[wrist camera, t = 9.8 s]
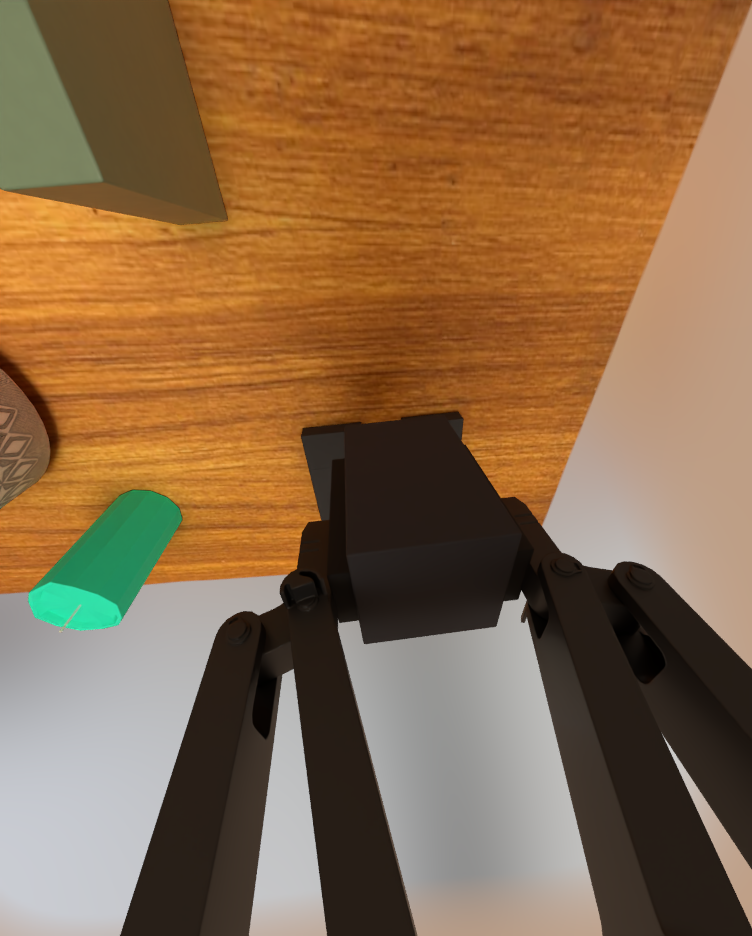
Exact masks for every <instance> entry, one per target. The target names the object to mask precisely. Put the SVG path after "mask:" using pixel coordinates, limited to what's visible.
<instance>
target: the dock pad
mask: <svg viewBox="0 0 752 936" xmlns="http://www.w3.org/2000/svg"><path fill="white" fill-rule="evenodd" d="M441 415H445V417H446V418H447V420H448V421H449V423H450V424H451V426H452V427H453V429H454V431H455V432H456V434H457V435H458V437H459V438H460V440H462V429H463V418H462V416H461V415H460V413H459V412H452V413H443V414H433V415H424V416H415V417H405V418H401V420H404V419H414V418H423V417H432V416H441ZM359 424H361V422H358V423H349V424H340V425H330V426H321V427H312V428H303V430H302V434H301V439H302V443H303V447H304V451H305V455H306V459H307V463H308V467H309V471H310V475H311V480H312V484H313V488H314V492H315V496H316V500H317V504H318V508H319V512H320V516H321V520H322V521H323V520H329V514H330V492H331V471H332V460H335V459H343V458H345V447H344V427H345V426H350V425H359Z"/></svg>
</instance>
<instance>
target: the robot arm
mask: <svg viewBox="0 0 752 936" xmlns="http://www.w3.org/2000/svg"><path fill="white" fill-rule="evenodd" d="M464 446H465V447H466V449H467V450H468V452H469V453H470V455H471V456H472V458H473V460H474V461H475V463H476V464H477V466H478V467H479V469H480V470H481V472H482V473H483V475H484V476H485V478H486V479H487V481H488V482H489V484H490V486H491V487H492V489H493V490H494V492H495V493H496V495H497V496H498V498H499V499H500V501H501V502H502V504H503V505H504V507H505V508H506V510H507V511H508V513H509V515H510V516H511V518H512V519H513V521H514V522H515V524H516V525H517V527H518V528H519V530H520V531H521V533H522V536H521V540H520V544H519V547H518V551H517V554H516V558H515V561H514V565H513V569H512V572H511V576H510V579H509V583H508V587H507V590H506V594H505V597H504V601H509V600H517V599H518V598H519V595H520V592H521V590H522V592H523V594H524V596H525V597H526V599H527V601H526V604H525V607H524V610H523V613H522V615H521V622H523V623H524V622H525V620H526V617H527V619H528V623H529V627H530V632H531V636H532V640H533V644H534V648H535V652H536V656H537V660H538V664H539V668H540V672H541V677H542V681H543V685H544V689H545V693H546V697H547V701H548V706H549V710H550V714H551V717H552V722H553V726H554V730H555V734H556V738H557V742H558V747H559V751H560V755H561V759H562V763H563V767H564V771H565V775H566V779H567V784H568V787H569V792H570V796H571V800H572V804H573V808H574V812H575V816H576V820H577V825H578V829H579V833H580V836H581V841H582V845H583V849H584V853H585V857H586V862H587V866H588V870H589V874H590V878H591V882H592V886H593V890H594V894H595V898H596V903H597V906H598V911H599V915H600V920H601V925H602V934H603V936H752V928H751V926H750V923H749V921H748V919H747V917H746V915H745V913H744V910H743V908H742V906H741V904H740V902H739V900H738V897H737V895H736V893H735V891H734V889H733V887H732V884H731V883H730V880H729V878H728V876H727V874H726V871H725V869H724V867H723V865H722V863H721V861H720V858H719V856H718V854H717V852H716V850H715V848H714V845H713V843H712V841H711V839H710V837H709V835H708V833H707V831H706V828H705V826H704V824H703V822H702V820H701V817H700V815H699V813H698V811H697V809H696V807H695V804H694V803H693V800H692V798H691V796H690V794H689V792H688V789H687V787H686V785H685V783H684V781H683V779H682V776H681V774H680V772H679V770H678V768H677V766H676V763H675V761H674V759H673V757H672V755H671V753H670V751H669V748H668V746H667V744H666V742H665V740H664V738H663V736H664V737H665V739H666V740H667V742H668V743H669V745H670V746H671V748H672V749H673V751H674V752H675V754H676V756H677V757H678V758H679V760H680V761H681V763H682V764H683V766H684V768H685V769H686V771H687V772H688V774H689V775H690V777H691V778H692V780H693V781H694V783H695V784H696V786H697V787H698V789H699V790H700V792H701V793H702V795H703V796H704V798H705V799H706V801H707V802H708V804H709V805H710V807H711V808H712V810H713V811H714V813H715V815H716V816H717V818H718V819H719V821H720V822H721V823H722V825H723V826H724V828H725V830H726V831H727V833H728V834H729V836H730V837H731V839H732V840H733V842H734V843H735V845H736V846H737V848H738V849H739V851H740V852H741V854H742V855H743V857H744V858H745V860H746V861H747V863H748V864H749V866H750V867H751V869H752V669H751V668H750V667H749V666H748V665H747V664H746V663H745V662H744V661H743V660H742V659H741V658H740V657H739V656H738V655H737V654H736V653H735V652H734V651H733V650H732V648H730V647H729V646H728V644H727V643H725V641H724V640H723V639H722V638H721V637H720V636H719V635H718V634H717V633H716V632H715V631H714V630H713V629H712V628H711V627H710V626H709V625H708V624H707V623H706V622H705V621H704V620H703V619H702V618H701V617H700V616H699V615H698V614H697V613H696V612H695V611H694V610H693V609H692V608H691V607H690V606H689V605H688V604H687V603H686V602H685V601H684V600H683V599H682V598H681V597H680V596H679V595H678V594H677V593H676V592H675V590H674V589H673V588H672V587H670V585H669V584H668V583H667V582H666V581H665V580H664V579H663V578H662V577H661V576H660V575H658V574H657V573H656V572H655V571H653V570H652V569H650V568H648V567H646V566H644V565H642V564H638V563H635V562H621V563H618V564H617V565H616V566H615V568H614V569H613V570H606V569H599V568H592V567H587V566H583V565H582V564H581V563H580V562H579V561H578V560H576V559H575V558H574V557H572V556H570V555H567V554H565V553H561V551H560V550H559V549H558V548H557V546H556V545H555V543H554V542H553V541H552V540H551V538H550V537H549V535H548V534H547V533H546V531H545V530H544V529H543V527H542V526H541V525H540V523H538V521H537V519H536V518H535V517H534V515H532V513H531V511H530V510H529V509H528V507H527V506H526V505H525V504H524V503H523V502H521V501H520V500H518V499H517V498H516V497H508V498H500V496H499V495H498V493H497V492H496V490H495V489H494V487H493V486H492V484H491V483H490V481H489V480H488V478H487V477H486V475H485V474H484V472H483V471H482V469H481V468H480V466H479V465H478V463H477V461H476V460H475V458H474V457H473V455H472V454H471V452H470V451H469V449H468V448H467V446H466V445H464ZM280 595H281V598H282V600H283V602H284V603H283V604H281V605H280V606H278V607H276V608H275V609H273V610H270V611H268V612H266V613H263V614H261V615H259V616H258V615H257V614H255V613H253V612H247V611H243V612H240V613H237V614H235V615H233V616H232V617H230V618H228V619H227V620H226V621H225V622H224V623H223V624H222V626H221V627H220V629H219V630H218V632H217V634H216V637H215V640H214V643H213V646H212V649H211V652H210V656H209V659H208V662H207V665H206V668H205V671H204V675H203V678H202V681H201V684H200V687H199V690H198V693H197V696H196V700H195V703H194V706H193V709H192V712H191V715H190V718H189V722H188V725H187V728H186V731H185V734H184V737H183V740H182V743H181V747H180V750H179V753H178V756H177V759H176V763H175V765H174V769H173V772H172V775H171V778H170V781H169V784H168V787H167V790H166V794H165V797H164V800H163V803H162V806H161V809H160V813H159V816H158V819H157V822H156V825H155V828H154V831H153V834H152V838H151V841H150V844H149V847H148V850H147V853H146V856H145V860H144V863H143V866H142V869H141V872H140V875H139V878H138V882H137V885H136V888H135V891H134V894H133V897H132V900H131V903H130V906H129V910H128V913H127V916H126V919H125V922H124V925H123V929H122V932H121V935H120V936H249V928H250V920H251V913H252V906H253V898H254V890H255V882H256V874H257V866H258V858H259V851H260V844H261V835H262V828H263V820H264V812H265V805H266V796H267V789H268V782H269V774H270V766H271V759H272V751H273V743H274V735H275V727H276V720H277V712H278V704H279V697H280V689H281V681H282V674H284V673H286V672H288V671H290V670H292V669H294V674H295V682H296V690H297V698H298V706H299V714H300V722H301V730H302V738H303V746H304V754H305V762H306V770H307V777H308V786H309V794H310V802H311V809H312V818H313V826H314V834H315V842H316V849H317V858H318V866H319V874H320V882H321V890H322V898H323V906H324V914H325V922H326V929H327V936H417V932H416V928H415V925H414V921H413V917H412V913H411V909H410V906H409V902H408V898H407V894H406V890H405V886H404V882H403V878H402V875H401V871H400V867H399V863H398V859H397V856H396V851H395V848H394V844H393V840H392V837H391V832H390V829H389V825H388V821H387V817H386V813H385V809H384V805H383V801H382V798H381V794H380V790H379V786H378V782H377V778H376V775H375V771H374V767H373V763H372V759H371V755H370V751H369V748H368V744H367V740H366V736H365V733H364V728H363V725H362V721H361V717H360V713H359V709H358V705H357V701H356V698H355V694H354V690H353V686H352V682H351V678H350V675H349V671H348V667H347V663H346V660H345V655H344V652H343V648H342V644H341V640H340V636H339V633H338V620H339V623H342V622H350V621H357V620H359V617H358V612H357V607H356V602H355V597H354V592H353V587H352V582H351V577H350V572H349V567H348V562H347V557H346V510H345V458H343V459H335V460H332V471H331V492H330V514H329V520H323V521H315V522H308V524H307V525H306V527H305V529H304V530H303V532H302V537H301V545H300V553H299V558H298V565H297V570H295V571H293V572H291V573H290V574H289V575H288V576H287V577H285V578H284V580H283V582H282V584H281V586H280ZM662 734H663V735H662Z"/></svg>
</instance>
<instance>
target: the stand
mask: <svg viewBox="0 0 752 936" xmlns="http://www.w3.org/2000/svg"><path fill="white" fill-rule="evenodd" d="M0 188H1V189H2V190H4V191H8V192H13V193H18V194H24V195H29V196H34V197H39V198H44V199H49V200H55V201H60V202H65V203H70V204H75V205H80V206H86V207H91V208H96V209H101V210H106V211H111V212H116V213H122V214H127V215H132V216H137V217H142V218H147V219H153V220H158V221H163V222H168V223H173V224H178V225H184V224H195V223H207V222H218V221H227V215H226V211H225V208H224V204H223V200H222V197H221V193H220V189H219V186H218V182H217V179H216V175H215V171H214V168H213V164H212V160H211V157H210V153H209V149H208V146H207V142H206V138H205V135H204V131H203V127H202V124H201V120H200V116H199V113H198V109H197V106H196V102H195V98H194V95H193V91H192V87H191V84H190V80H189V76H188V73H187V69H186V65H185V62H184V58H183V54H182V51H181V47H180V43H179V40H178V36H177V32H176V29H175V25H174V22H173V18H172V14H171V11H170V7H169V3H168V0H0Z"/></svg>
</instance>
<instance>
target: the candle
mask: <svg viewBox="0 0 752 936" xmlns="http://www.w3.org/2000/svg"><path fill="white" fill-rule="evenodd" d="M181 521H182V516H181V513H180V509H179V508H178V507H177V506H176V505H175V504H174V503H173V502H172V501H171V500H170V499H169V498H167V497H165V496H162V495H160V494H157V493H155V492H153V491H146V490H131V491H129V492H127V493H124V494H122V495H120V496H119V497H118V498H117V499H116V500H115V501H114V502H113V503H112V504H111V505H110V506H109V507H108V508H107V510H106V511H105V512H104V513H103V514H102V515H101V516H100V517H99V518H98V519H97V520H96V521H95V522H94V524H93V525H92V526H91V527H90V528H89V529H88V530H87V531H86V532H85V533H84V534H83V535H82V536H81V537H80V539H79V540H78V541H77V542H76V543H75V544H74V545H73V546H72V547H71V548H70V549H69V550H68V551H67V552H66V554H65V555H64V556H63V557H62V558H61V559H60V560H59V561H58V562H57V563H56V564H55V565H54V566H53V568H52V569H51V570H50V571H49V572H48V573H47V574H46V575H45V576H44V577H43V578H42V579H41V580H40V581H39V583H38V584H37V585H36V586H35V587H34V588H33V589H32V590H31V591H30V592H29V598H28V602H29V604H30V606H31V609H32V612H33V614H34V616H35V618H38V619H40V620H43V621H45V622H48V623H50V624H53V625H55V626H59V627H62V628H61V630H60V631H59V632H60V633H61V632H62V631H63V630H64V628H70V629H75V630H80V631H81V630H93V629H104V628H108V627H113V626H117V625H119V623H120V621H121V620H122V619H123V617H124V615H125V613H126V612H127V610H128V609H129V607H130V605H131V604H132V602H133V600H134V599H135V597H136V595H137V594H138V592H139V590H140V589H141V587H142V586H143V584H144V582H145V581H146V579H147V577H148V576H149V574H150V572H151V571H152V569H153V567H154V566H155V564H156V563H157V561H158V559H159V558H160V556H161V554H162V553H163V551H164V549H165V548H166V546H167V544H168V543H169V541H170V540H171V538H172V536H173V535H174V533H175V531H176V530H177V528H178V526H179V525H180V523H181Z"/></svg>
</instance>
